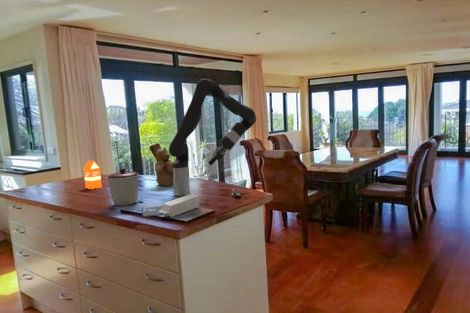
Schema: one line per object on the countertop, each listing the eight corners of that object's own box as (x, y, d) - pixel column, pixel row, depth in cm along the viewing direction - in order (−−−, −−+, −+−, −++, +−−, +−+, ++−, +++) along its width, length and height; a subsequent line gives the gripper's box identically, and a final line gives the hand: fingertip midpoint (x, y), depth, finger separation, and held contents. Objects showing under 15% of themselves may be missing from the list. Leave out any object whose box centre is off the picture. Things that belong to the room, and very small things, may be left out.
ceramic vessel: (168, 187, 245) (165, 144, 241) (146, 185, 256) (142, 144, 253) (183, 183, 258) (180, 142, 254) (162, 181, 270) (158, 142, 266)
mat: (143, 217, 173) (143, 216, 173) (141, 209, 188) (141, 208, 188) (189, 211, 179) (189, 209, 179) (184, 204, 194) (184, 203, 194)
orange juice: (95, 186, 265) (92, 160, 263) (101, 187, 260) (99, 160, 258) (85, 188, 259) (82, 161, 257) (92, 189, 254) (89, 161, 252)
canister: (116, 200, 213) (112, 166, 210) (145, 199, 212) (142, 164, 210) (104, 208, 195) (100, 171, 192) (136, 207, 194) (132, 169, 192)
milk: (191, 193, 186) (157, 204, 170) (199, 195, 182) (165, 207, 166) (191, 204, 187) (158, 216, 171) (199, 206, 184) (166, 219, 167)
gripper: (221, 134, 195) (201, 158, 193) (228, 135, 183) (207, 161, 181) (231, 143, 198) (211, 167, 196) (238, 145, 185) (217, 170, 183)
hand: (209, 164), depth 188 cm, fingers closed
